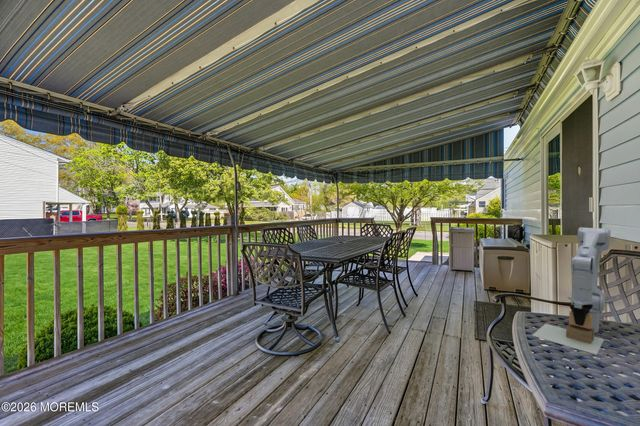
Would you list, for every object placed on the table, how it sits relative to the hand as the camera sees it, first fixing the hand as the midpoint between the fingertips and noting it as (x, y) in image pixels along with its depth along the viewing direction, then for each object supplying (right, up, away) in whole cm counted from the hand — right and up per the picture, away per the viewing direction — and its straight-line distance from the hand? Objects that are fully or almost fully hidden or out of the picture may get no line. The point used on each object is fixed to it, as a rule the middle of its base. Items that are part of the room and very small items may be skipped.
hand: (580, 323), depth 109 cm
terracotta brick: (0, -1, 0) cm, 1 cm away
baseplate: (-4, -6, 0) cm, 8 cm away
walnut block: (0, -6, 0) cm, 6 cm away
